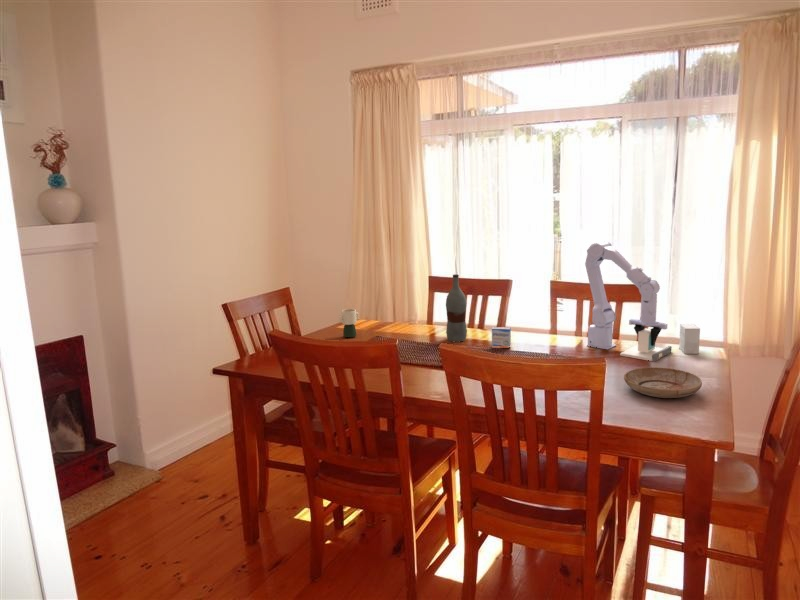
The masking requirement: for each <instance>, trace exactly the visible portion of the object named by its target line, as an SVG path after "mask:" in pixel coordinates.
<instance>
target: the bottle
mask: <svg viewBox="0 0 800 600" xmlns="http://www.w3.org/2000/svg"><path fill="white" fill-rule="evenodd" d="M459 281H460V280H459V274H455V273H454V274H452V287H451V289H450V290H449V292H448V293H447V296H446V299H445V300H446V301H445V309H446V320H447V321H446V330H445V333H446V338H447V341H448V342H450V341H456V342H455V343H460V342H459V341H463V342H465V341H466V340H467V333H468V329H467V323H466V319H467V317H466V316H467V304H468V303H467V299H466V295H465V293H464V292H463V290H462V289H461V287H460V282H459ZM464 340H465V341H464Z"/></svg>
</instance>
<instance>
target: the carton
mask: <svg viewBox="0 0 800 600" xmlns="http://www.w3.org/2000/svg"><path fill="white" fill-rule="evenodd" d="M651 329H652V328H648V327H647V328H646V327H645V328H644V329H643V330H641V331H639V332H638V336H637V345H638V351H639V352H645V353H648V352H650V351H652V350H654V349H655V347H656V344H655V345H654V346H651Z"/></svg>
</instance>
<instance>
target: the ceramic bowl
mask: <svg viewBox="0 0 800 600" xmlns="http://www.w3.org/2000/svg"><path fill="white" fill-rule="evenodd" d="M623 379H624V381H625V384H626V385H627V386H628V387H629V388H631V389H632V390H634V391H635V392H638V393H640V394H642V395H645V396H649V397H654V398H660V399H662V398H663V399H675V398H684V397H688V396H691V395H694V394H695V393H697V392H698V391H699V390H700V389H701V388H702V385H703V381H702V379H701V377H699V376H698V375H696V374H694V373H691V372H689V371H685V370H680V369H676V368H669V367H652V366H651V367H640V368H639V367H638V368H634V369H631V370H628V371H627V372H625V374H624V375H623Z"/></svg>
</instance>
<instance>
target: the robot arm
mask: <svg viewBox="0 0 800 600" xmlns="http://www.w3.org/2000/svg"><path fill="white" fill-rule="evenodd" d="M586 253H587V254H586V257H585V263H584V265H585V268H586V273H587V277H588V278H587V279H588V282H589V283H588V284H589V286H590V291H591V296H592V301H593V305H594V306H593V307H592V310H591V311H592V316H591V317H592V318H591V321H592V324H590V325H589V327H588V328H587V329H588V331H587V345H586V346H587V347H590V346H591V348H596V347H597V348H596V349H602V350H610V349H612V348H614V347H616V346H617V344H616V343H615V344H614V343H613V330H614V328H613V327H614V325H613V323H614V322H615V320H616V317H617V316H616V312H615V311H614V310H613V308H612V305H611V304H610V303H609V302H608V298H607V294H606V289H605V284H604V280H603V276H602V271H601V268H600V265H601V264H602V263H603V261H604V260H609V261H611V262H613V263H614V264H615V265H617V266H618V267H619V268H621V270H623V271H624V272H625V274H626V278H627V279H628V280H629V281H630V282H631V283H632V284H633V285H634V286H636V287H637V288H638V293H639V294H640V295H641V299H640V319H633V318H630V319H629V320H628V325H631V326H632V325H634V327H633V329H634V331H635V333H636V335H637V337H638V332H639V331H641V330H643V329H646V327H647V328H650V329H651V346H654V345H655V346H656V343H657V342H656V341H657V339H658V337H659V334H660V333H661V331H662V330H668V323H664V322H660V321H657V303H658V293H659V291H660V289H661V288H660V287H661V286H660V284H659V282H658V281H657V280H656V279H652V277H650V276H648V275H647V274H646V273H645V272H643V270H644V269H643V268H641V267H638V266H635V267H634V266H633V264H631V263H630V262H629V261H628V260H627V259H626V258H625V257H624V256H623V255H622V254H621V252H619V250H618V249H617V248H616V246H614V245H612V244H611V242H610V241H602V242H595V243H592V244H591V245H589V247H588V248H587V249H586Z"/></svg>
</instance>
